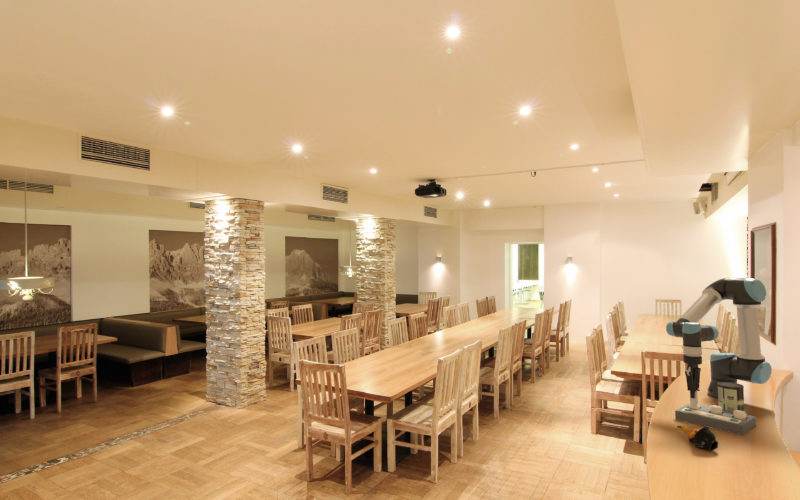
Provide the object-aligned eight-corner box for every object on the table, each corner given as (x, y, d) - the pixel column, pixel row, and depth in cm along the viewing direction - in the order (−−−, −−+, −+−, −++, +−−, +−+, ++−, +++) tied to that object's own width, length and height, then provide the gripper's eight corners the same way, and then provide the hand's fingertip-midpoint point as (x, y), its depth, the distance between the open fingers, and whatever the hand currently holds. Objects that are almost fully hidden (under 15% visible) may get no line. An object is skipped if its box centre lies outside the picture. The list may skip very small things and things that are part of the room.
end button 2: (735, 420, 202) (735, 409, 202) (747, 423, 198) (747, 411, 198) (732, 422, 199) (732, 411, 199) (744, 425, 196) (744, 414, 196)
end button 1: (691, 413, 216) (690, 402, 216) (701, 415, 213) (701, 405, 213) (687, 415, 213) (687, 404, 214) (698, 417, 210) (697, 406, 210)
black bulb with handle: (706, 443, 170) (665, 414, 186) (706, 463, 174) (667, 433, 190) (724, 432, 172) (682, 404, 188) (724, 452, 176) (684, 423, 192)
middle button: (712, 415, 209) (712, 404, 209) (723, 417, 205) (723, 406, 206) (709, 417, 206) (708, 406, 206) (720, 420, 203) (720, 408, 203)
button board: (690, 410, 220) (690, 401, 220) (755, 425, 199) (755, 415, 200) (675, 419, 209) (675, 409, 209) (742, 435, 188) (742, 424, 189)
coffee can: (737, 410, 219) (736, 382, 219) (749, 418, 209) (748, 387, 209) (714, 409, 221) (713, 381, 222) (724, 416, 211) (723, 386, 211)
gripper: (689, 352, 221) (690, 400, 220) (678, 355, 213) (679, 405, 212) (706, 354, 215) (708, 403, 214) (695, 358, 207) (697, 409, 206)
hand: (694, 404), depth 213 cm, fingers closed
